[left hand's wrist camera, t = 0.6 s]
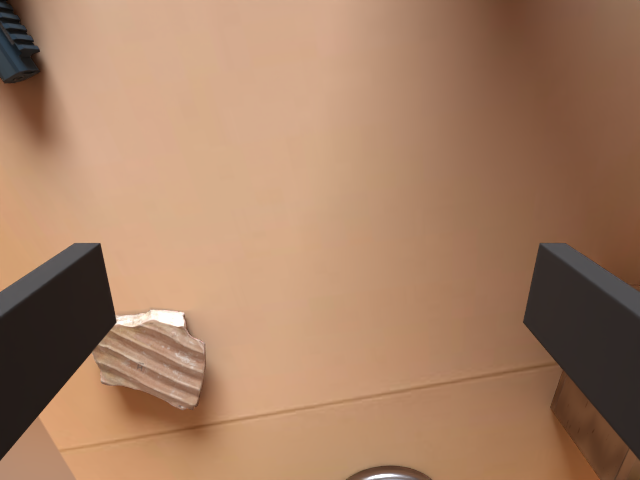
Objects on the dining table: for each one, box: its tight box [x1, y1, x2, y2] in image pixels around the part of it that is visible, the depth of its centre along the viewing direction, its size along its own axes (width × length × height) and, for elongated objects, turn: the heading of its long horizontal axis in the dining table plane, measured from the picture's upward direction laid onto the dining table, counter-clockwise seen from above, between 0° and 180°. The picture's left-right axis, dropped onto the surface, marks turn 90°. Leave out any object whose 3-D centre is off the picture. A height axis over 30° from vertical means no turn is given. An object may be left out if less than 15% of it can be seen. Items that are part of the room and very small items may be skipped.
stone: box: [92, 310, 206, 410], centre depth 45 cm, size 13×12×3 cm
